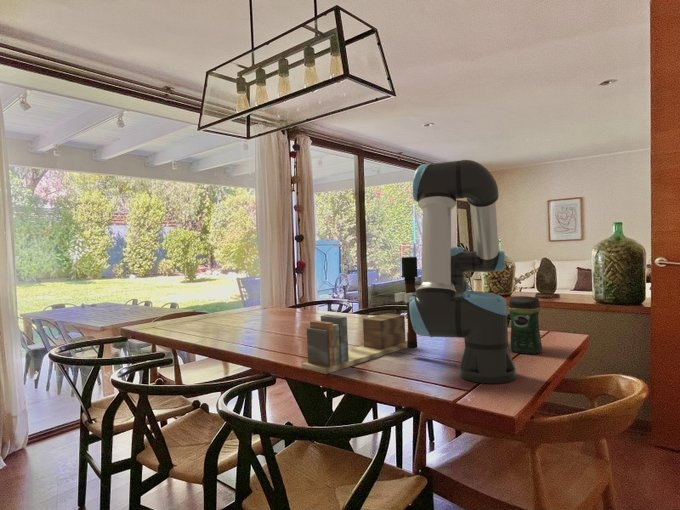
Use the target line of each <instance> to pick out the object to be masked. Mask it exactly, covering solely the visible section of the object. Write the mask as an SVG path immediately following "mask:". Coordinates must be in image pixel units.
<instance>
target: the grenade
mask: <svg viewBox="0 0 680 510" xmlns="http://www.w3.org/2000/svg"><path fill="white" fill-rule="evenodd" d="M401 278H404V279H403V280H404V288H405V289H404V291H406V294H407V293H414V292H415V289H416V278H419V275H418V257H417V256H402V257H401ZM409 303H410V302H407V303H406V314H407V315H406V316H407V318H406V319H407V333H406V341H407V348H408V349H416V348H418V340H417V339H418V337H417V335H418V334H416V333H415V331H414V329H413V326H412V323H411V318H410V309H409Z"/></svg>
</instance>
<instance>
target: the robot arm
mask: <svg viewBox="0 0 680 510" xmlns="http://www.w3.org/2000/svg"><path fill="white" fill-rule="evenodd" d="M412 178H413V179H412V197H413V201H415V202H417V206H418V208H420V209H421V210H422V226H421V227H422V228H421V229H422V230H421V231H422V232H421V233H422V234H421V236H422V237H421V238H422V239H421V274H420V275H421V279H420V281H421V283H420V285H419V286H418V287H417V288H415V292H414V293H407V294H406V291H405V290H402V291H401V292H395V293H394V302H395V303H398V302H404V303H406V304H407V302H410V303H409V309H410V318H411V323H412V326H413V329H414V331H415V333H416V334H417V335H418V336H420V337H429V338H434V337H435V338H459V339H460V338H462V339H464V349H463V353H462V355H461V360H460V362H459V367H458V368H459V369H458V371H459V373H458V374H459V377H460V378H462V379H463V380H466V381H469V382H472V383H473V382H475V383H479V384H489V385H490V384H493V385H495V384H505V383H510V382H513V381H514V380H516V378H517V368H516V366H515V363H514V361H513V358H512V355H511V352H510V348H509V331H508V315H509V312H508V308H507V306H508V305H507V304H508V303H507V300H506V299H505V297H503V296H501V295H499V294H496V293H491V292H485V291H477V290H476V291H473V290H472V291H471V290H470V284H469V283H468V280H466V279H465V273H495V272H503V271H504V270H505V269H506V258H505V257H506V255H505V254H506V253H505V252H504V251H503V250H499V249H500V248H499V237H498V223H497V222H498V220H497V206H496V205H497V204H496V202H497V201H498V200H499V186H498V184H497V181H496V180H495V178H494V176H493V174H492V173H491V172H490V170H488V169H487V168H486V166H484V165H483V164H481V163H479V162H477V161H475V160H471V159H461V160H453V161H444V162H443V161H442V162H430V163H425V164H421V165H419V166H418V167H417V168H416V170H415V171H414V174H413V177H412ZM460 199H466V200H467V203H468V204H469V205H470V208H471V217H472V224H473V226H472V227H473V234H474V243H475V251H464V248H463V247H462V246H454V247H452V209H454V208H455V207H456V205H457V200H460Z"/></svg>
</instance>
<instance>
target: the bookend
mask: <svg viewBox="0 0 680 510" xmlns="http://www.w3.org/2000/svg"><path fill="white" fill-rule="evenodd" d="M405 318H406V317H405V314H395V313H389V312H388V313H383V314H378V315H376V316H375V315H374V316H370V317H366V318H365V317H364V318H362V326H363V327H362V328H363V330H362V331H363V345H364V347H369V348H374V349H380V350H382V349H385V348H389V347H392V346H395V345H398V344H401V343H405V342H406V341H407V340H406V321H405V320H406V319H405Z"/></svg>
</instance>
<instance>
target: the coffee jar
mask: <svg viewBox="0 0 680 510" xmlns="http://www.w3.org/2000/svg"><path fill="white" fill-rule="evenodd" d="M508 311H509V312H508V313H509V314H510V337H509V338H510V339H509V350H511V351H512V352H513V353H517V354H526V355H528V354H529V355H530V354H531V355H533V354H540V353H541V352H542V351H543V346H542V337H541V332H540V331H541V330H540V326H539V325H540V324H539V323H540V322H539V316H540V315H539V314H540V312H541V305H540V300H539V297H537V296H528V295H527V296H525V295H522V296H520V295H519V296H512V297H510V298H509V301H508Z"/></svg>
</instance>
